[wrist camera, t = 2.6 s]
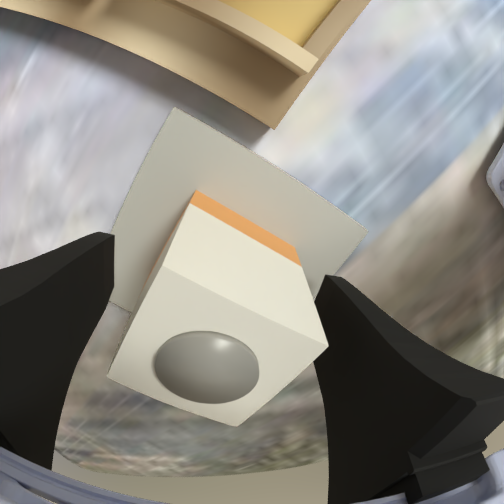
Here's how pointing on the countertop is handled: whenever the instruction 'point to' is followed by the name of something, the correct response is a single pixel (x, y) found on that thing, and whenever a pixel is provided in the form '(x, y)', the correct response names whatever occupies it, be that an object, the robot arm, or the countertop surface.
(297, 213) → the mat
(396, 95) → the countertop surface
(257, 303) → the cube with grey knob
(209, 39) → the socket block
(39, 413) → the robot arm
